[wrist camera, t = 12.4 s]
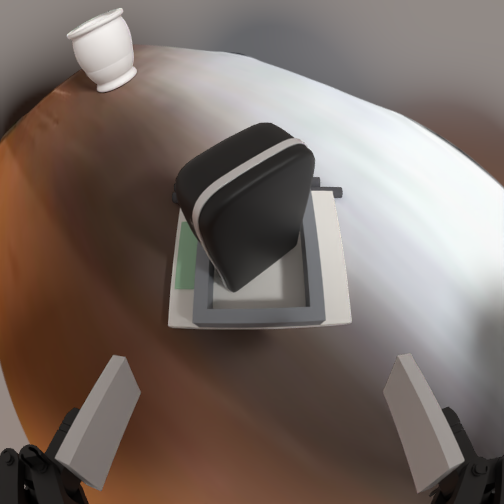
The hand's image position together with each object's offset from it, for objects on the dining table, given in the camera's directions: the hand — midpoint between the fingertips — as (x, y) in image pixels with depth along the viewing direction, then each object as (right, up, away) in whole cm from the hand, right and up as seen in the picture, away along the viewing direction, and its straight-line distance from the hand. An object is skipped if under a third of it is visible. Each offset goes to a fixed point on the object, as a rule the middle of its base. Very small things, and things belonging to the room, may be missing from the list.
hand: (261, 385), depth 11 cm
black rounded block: (0, +6, +11) cm, 12 cm away
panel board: (0, +6, +11) cm, 13 cm away
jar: (-26, +39, +28) cm, 54 cm away
